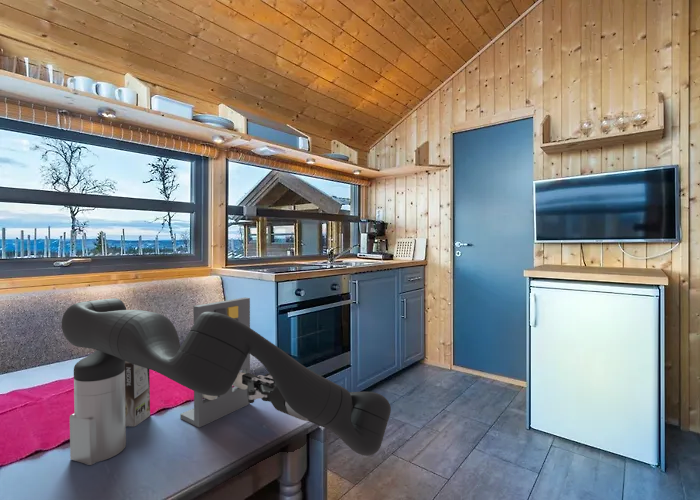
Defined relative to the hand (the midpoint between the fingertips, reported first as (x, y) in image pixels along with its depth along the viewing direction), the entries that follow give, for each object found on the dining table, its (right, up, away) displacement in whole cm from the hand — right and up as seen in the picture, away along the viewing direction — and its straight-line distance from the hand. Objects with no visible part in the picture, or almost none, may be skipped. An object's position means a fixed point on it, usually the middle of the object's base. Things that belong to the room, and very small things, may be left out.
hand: (244, 377), depth 87 cm
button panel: (-11, -14, +13) cm, 22 cm away
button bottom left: (-11, -8, +8) cm, 16 cm away
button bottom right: (-5, -8, +14) cm, 17 cm away
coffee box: (-32, -14, +8) cm, 36 cm away
